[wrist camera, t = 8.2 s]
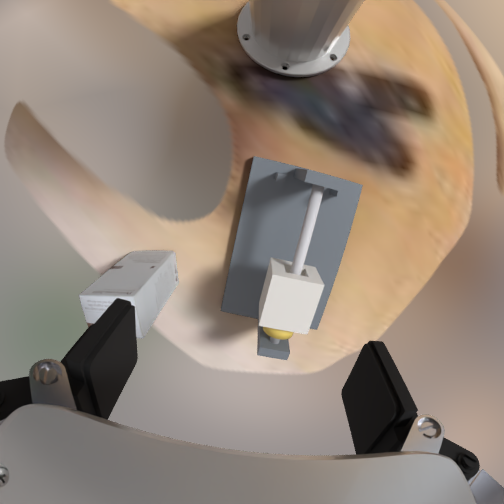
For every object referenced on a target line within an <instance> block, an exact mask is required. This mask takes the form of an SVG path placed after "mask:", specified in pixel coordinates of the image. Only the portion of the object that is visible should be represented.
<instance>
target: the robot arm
mask: <svg viewBox="0 0 504 504" xmlns="http://www.w3.org/2000/svg"><path fill="white" fill-rule="evenodd" d="M364 1H365V0H249V1H248V2H247V3H246V5H245V6H244V7H243V8H242V10H241V12H240V14H239V17H238V22H237V33H238V38H239V41H240V43H241V45H242V48H243V49H244V51H245V52H246V53H247V55H248V56H249V57H250V58H251V59H252V60H253V61H255V62H256V63H257V64H259V65H260V66H262V67H263V68H265V69H267V70H269V71H272V72H274V73H277V74H281V75H285V76H292V77H309V76H314V75H319V74H321V73H324V72H326V71H328V70H330V69H331V68H333V67H335V66H336V65H337V64H338V63H339V62H340V61H341V60H342V58H343V57H344V56H345V54H346V52H347V50H348V48H349V44H350V29H349V26H348V24H349V23H350V21H351V20H352V18H353V17H354V15H355V14H356V12H357V11H358V9H359V8H360V6H361V5H362V4H363V2H364ZM245 39H249V40H245ZM330 58H332V59H333V60H334V61H332V60H331V59H330ZM283 67H286V68H287V70H283V69H282V68H283ZM136 362H137V341H136V321H135V306H133V305H131V302H130V301H128V300H124V299H120V298H116V299H115V300H114V302H113V303H112V304H111V305H110V306H109V307H108V308H107V310H106V311H105V312H104V313H103V314H102V315H101V317H100V318H99V319H98V320H97V321H96V322H95V324H92V325H91V326H89V328H88V329H87V330H86V331H85V332H84V334H83V335H82V336H81V337H80V338H79V340H78V341H77V342H76V343H75V344H74V346H73V347H72V348H71V349H70V351H69V352H68V353H67V354H66V355H65V357H64V358H63V359H62V360H61V362H59V361H57V360H54V359H43V360H40V361H38V362H36V363H35V364H34V365H33V366H32V367H31V369H30V371H29V376H28V377H23V378H18V379H12V380H6V381H1V382H0V504H504V488H503V487H502V486H501V485H500V484H499V483H498V482H497V481H495V480H494V479H493V478H492V477H491V476H490V475H489V474H488V473H487V472H485V471H484V470H483V469H482V470H481V471H479V466H480V465H479V461H478V459H477V457H476V456H475V455H474V454H473V453H472V452H470V451H468V450H466V449H464V448H462V447H461V446H459V445H457V444H455V443H453V442H451V441H450V440H448V439H446V438H444V426H443V425H442V423H441V422H440V421H439V420H438V419H437V418H435V417H434V416H431V415H427V414H424V415H420V416H418V415H417V413H416V412H417V411H418V409H417V407H416V405H415V403H414V401H413V399H412V397H411V395H410V393H409V391H408V389H407V387H406V385H405V383H404V381H403V379H402V377H401V375H400V373H399V371H398V369H397V367H396V365H395V363H394V361H393V359H392V357H391V355H390V354H389V352H388V350H387V348H386V346H385V344H384V343H383V342H380V341H369V342H368V343H367V344H365V345H364V346H363V348H362V350H361V352H360V354H359V357H358V359H357V361H356V363H355V365H354V367H353V369H352V371H351V373H350V375H349V377H348V379H347V381H346V383H345V385H344V387H343V389H342V399H343V403H344V406H345V411H346V415H347V418H348V422H349V427H350V431H351V435H352V439H353V443H354V447H355V451H356V455H333V456H308V455H307V456H306V455H282V454H269V453H256V452H247V451H239V450H232V449H225V448H219V447H212V446H207V445H201V444H196V443H191V442H186V441H182V440H176V439H173V438H169V437H164V436H160V435H156V434H153V433H149V432H146V431H142V430H139V429H135V428H132V427H128V426H125V425H121V424H118V423H115V422H112V421H109V420H108V418H109V416H110V414H111V412H112V410H113V407H114V406H115V404H116V402H117V400H118V398H119V396H120V394H121V392H122V390H123V388H124V386H125V384H126V382H127V380H128V378H129V376H130V375H131V373H132V371H133V369H134V367H135V365H136Z"/></svg>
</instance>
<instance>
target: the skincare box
mask: <svg viewBox="0 0 504 504" xmlns="http://www.w3.org/2000/svg"><path fill="white" fill-rule="evenodd" d="M178 283H179V279H178V271H177V263H176V254H175V252H174V251H167V250H149V251H133V252H130V253H129V254H128V255H126V256H125V257H124V258H123V259H121V260H120V261H119V262H118V263H116V264H115V265H114V266H113V267H111V268H110V269H109V270H108V271H107V272H105V273H104V274H103V275H102V276H100V277H99V278H98V279H97V280H96V281H95V282H93V283H92V284H91V285H90V286H89V287H88V288H87V289H85V290H84V291H83V292H82V293H81V294H80V295H79V297H80V301H81V305H82V309H83V312H84V315H85V318H86V322H87V324H88V327H89V326H91V325H92V324H95V322H96V321H97V320H98V319H99V318H100V317H101V315H102V314H103V313H104V312H105V311H106V310H107V308H108V307H109V306H110V305H111V304H112V303H113V302H114V300H115V299H116V298H120V299H124V300H128V301H130V302H131V305H133V306H135V321H136V338H144V337H145V335H146V333H147V332H148V330H149V329H150V327H151V326H152V324H153V322H154V321H155V319H156V318H157V316H158V314H159V313H160V311H161V310H162V308H163V307H164V305H165V304H166V302H167V300H168V299H169V297H170V296H171V294H172V293H173V291H174V290H175V288H176V286H177V285H178Z"/></svg>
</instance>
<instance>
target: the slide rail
mask: <svg viewBox="0 0 504 504" xmlns="http://www.w3.org/2000/svg"><path fill="white" fill-rule="evenodd" d="M362 186H363V185H360V184H357V183H354V182H351V181H347V180H344V179H341V178H337V177H334V176H330V175H327V174H323V173H320V172H316V171H312V170H309V169H305V168H301V167H297V166H293V165H289V164H285V163H281V162H277V161H272V160H268V159H264V158H259V157H255V156H254V159H253V163H252V167H251V172H250V176H249V181H248V185H247V189H246V194H245V198H244V203H243V208H242V212H241V217H240V221H239V226H238V230H237V235H236V240H235V244H234V249H233V254H232V259H231V263H230V268H229V273H228V278H227V282H226V287H225V292H224V297H223V302H222V307H221V311H223V312H228V313H232V314H237V315H242V316H247V317H251V318H256V319H258V348H257V355H260V356H265V357H271V358H277V359H283V360H287V359H288V356H289V354H290V349H289V342H288V339H289V338H291V337H292V335H293V332H290V331H284V330H279V329H273V328H268V327H263V326H259V301H260V297H261V293H262V290H263V286H264V282H265V278H266V274H267V270H268V266H269V263H270V259H271V257H272V258H277V259H281V260H286V261H290V262H293V263H292V266H291V270H290V273H292V274H297V275H301V272H302V268H303V265H308V266H313V267H316V269H317V271H318V273H319V275H320V277H321V279H322V281H323V283H324V288H323V291H322V294H321V297H320V300H319V303H318V306H317V309H316V312H315V314H314V317H313V320H312V323H311V325H310V329H316V330H317V328H318V326H319V323H320V320H321V318H322V315H323V312H324V309H325V307H326V304H327V301H328V298H329V295H330V292H331V289H332V287H333V284H334V281H335V278H336V275H337V272H338V268H339V265H340V262H341V259H342V256H343V253H344V250H345V246H346V243H347V240H348V236H349V233H350V230H351V226H352V223H353V219H354V216H355V212H356V208H357V205H358V201H359V197H360V193H361V189H362Z"/></svg>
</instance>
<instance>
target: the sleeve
mask: <svg viewBox="0 0 504 504" xmlns="http://www.w3.org/2000/svg"><path fill="white" fill-rule="evenodd" d="M292 263H293V262H290V261H286V260H281V259H277V258H272V257H271V259H270V263H269V266H268V270H267V274H266V278H265V282H264V286H263V290H262V293H261V297H260V301H259V326H263V327H268V328H273V329H279V330H284V331H290V332H296V333H301V334H308V331H309V328H310V325H311V323H312V320H313V317H314V314H315V312H316V309H317V306H318V303H319V300H320V297H321V294H322V291H323V288H324V283H323V281H322V279H321V277H320V275H319V273H318V271H317V269H316V267H313V266H308V265H303V268H302V272H301V275H297V274H292V273H290V270H291V266H292Z"/></svg>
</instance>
